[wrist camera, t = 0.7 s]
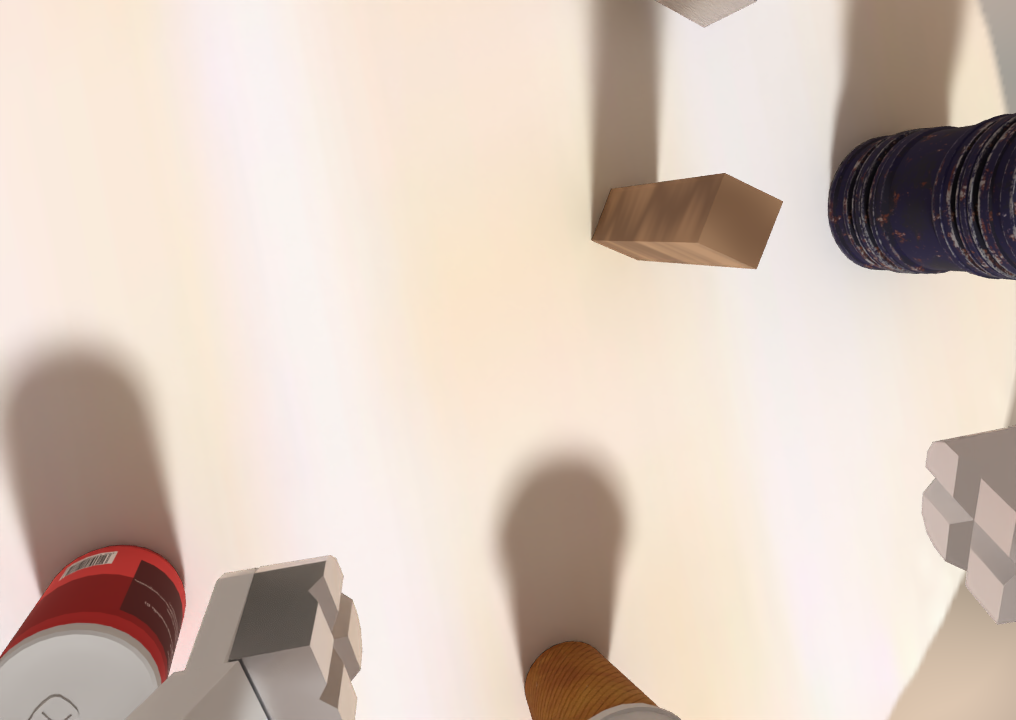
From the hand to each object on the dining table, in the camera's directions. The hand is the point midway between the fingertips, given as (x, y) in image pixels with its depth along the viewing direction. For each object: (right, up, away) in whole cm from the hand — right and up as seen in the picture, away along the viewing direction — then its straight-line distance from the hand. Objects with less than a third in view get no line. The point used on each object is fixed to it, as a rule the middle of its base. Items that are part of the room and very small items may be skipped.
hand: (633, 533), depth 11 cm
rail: (+6, +11, +41) cm, 43 cm away
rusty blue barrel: (+26, +14, +47) cm, 55 cm away
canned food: (-25, -12, +36) cm, 46 cm away
